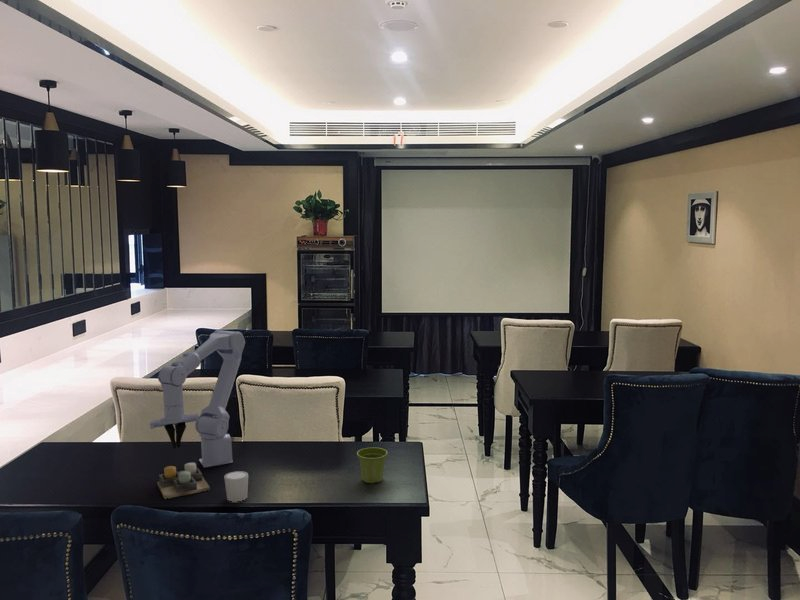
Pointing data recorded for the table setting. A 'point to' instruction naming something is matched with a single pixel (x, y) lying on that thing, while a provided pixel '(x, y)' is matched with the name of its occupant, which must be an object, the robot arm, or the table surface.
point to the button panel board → (174, 489)
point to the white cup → (236, 485)
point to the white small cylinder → (191, 468)
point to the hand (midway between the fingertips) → (176, 447)
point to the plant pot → (372, 463)
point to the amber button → (170, 472)
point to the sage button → (184, 477)
